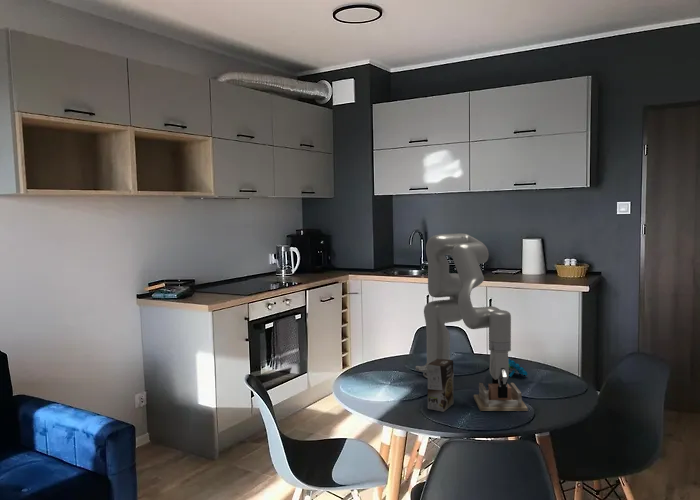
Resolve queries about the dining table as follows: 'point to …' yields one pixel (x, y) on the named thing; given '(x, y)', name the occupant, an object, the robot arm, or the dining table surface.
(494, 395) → the brown block
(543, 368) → the dining table surface
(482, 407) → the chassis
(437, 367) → the coffee box
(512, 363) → the toy dinosaur
